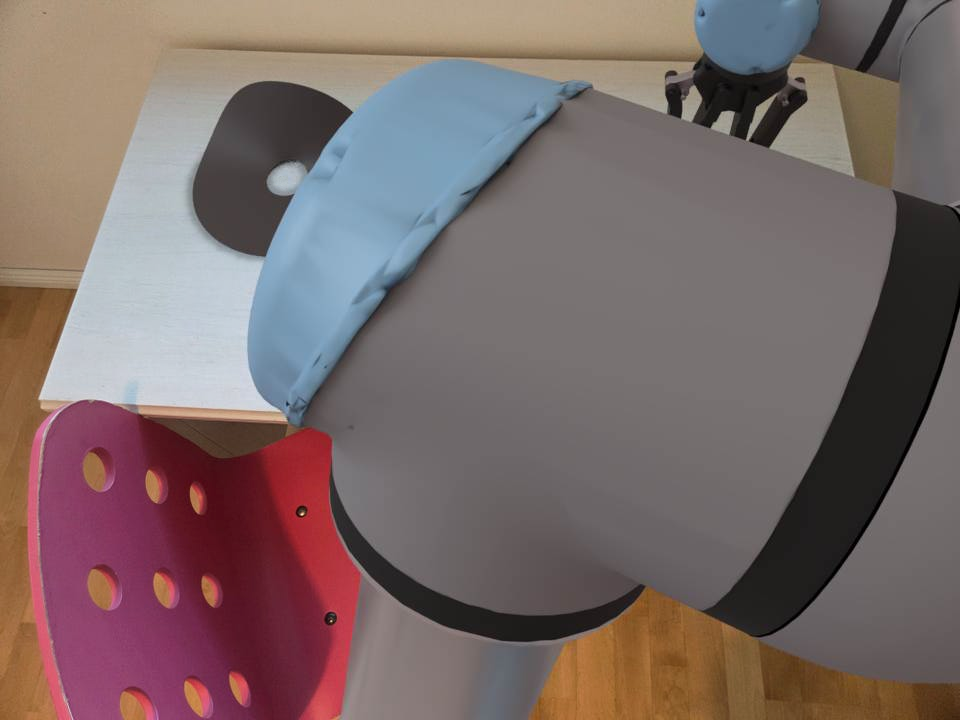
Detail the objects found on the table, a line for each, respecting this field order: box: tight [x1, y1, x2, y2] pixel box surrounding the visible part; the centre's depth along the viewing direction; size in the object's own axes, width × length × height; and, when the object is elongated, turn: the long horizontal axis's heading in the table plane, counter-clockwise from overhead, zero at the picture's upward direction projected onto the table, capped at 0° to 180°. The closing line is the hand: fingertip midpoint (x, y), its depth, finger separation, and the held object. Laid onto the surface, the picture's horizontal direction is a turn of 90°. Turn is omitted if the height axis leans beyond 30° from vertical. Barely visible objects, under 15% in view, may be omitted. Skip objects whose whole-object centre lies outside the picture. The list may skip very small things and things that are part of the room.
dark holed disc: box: [192, 80, 354, 257], centre depth 87 cm, size 25×20×10 cm
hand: (691, 202), depth 79 cm, fingers closed on ring, 2 cm apart
